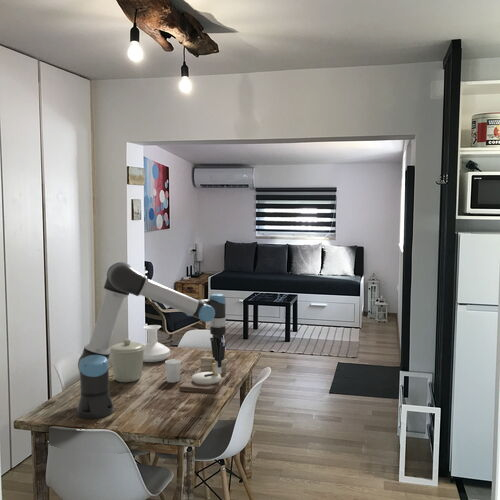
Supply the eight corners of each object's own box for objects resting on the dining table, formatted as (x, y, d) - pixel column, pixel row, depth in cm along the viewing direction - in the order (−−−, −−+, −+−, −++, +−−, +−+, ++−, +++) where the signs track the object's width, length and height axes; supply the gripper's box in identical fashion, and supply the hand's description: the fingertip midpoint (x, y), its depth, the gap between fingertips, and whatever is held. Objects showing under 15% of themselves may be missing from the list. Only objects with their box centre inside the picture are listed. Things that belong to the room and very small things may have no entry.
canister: (108, 386, 258) (107, 344, 256) (110, 375, 275) (109, 335, 274) (146, 383, 261) (145, 342, 260) (145, 373, 279) (144, 334, 278)
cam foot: (200, 386, 250) (199, 371, 249) (187, 378, 262) (187, 364, 261) (225, 381, 257) (225, 366, 256) (212, 374, 269) (212, 359, 268)
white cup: (178, 383, 262) (177, 363, 261) (163, 382, 263) (162, 363, 262) (183, 378, 269) (182, 359, 269) (168, 377, 271) (168, 358, 270)
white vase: (127, 360, 302) (127, 328, 301) (152, 353, 319) (152, 321, 317) (152, 366, 291) (152, 332, 289) (177, 358, 307) (176, 325, 306)
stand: (215, 393, 247) (215, 374, 246) (179, 390, 251) (179, 372, 250) (230, 376, 273) (230, 359, 272) (198, 373, 277) (198, 356, 277)
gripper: (231, 327, 251) (231, 375, 253) (218, 322, 263) (219, 368, 264) (217, 329, 248) (217, 378, 249) (205, 324, 259) (205, 371, 260)
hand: (218, 373), depth 257 cm, fingers closed
